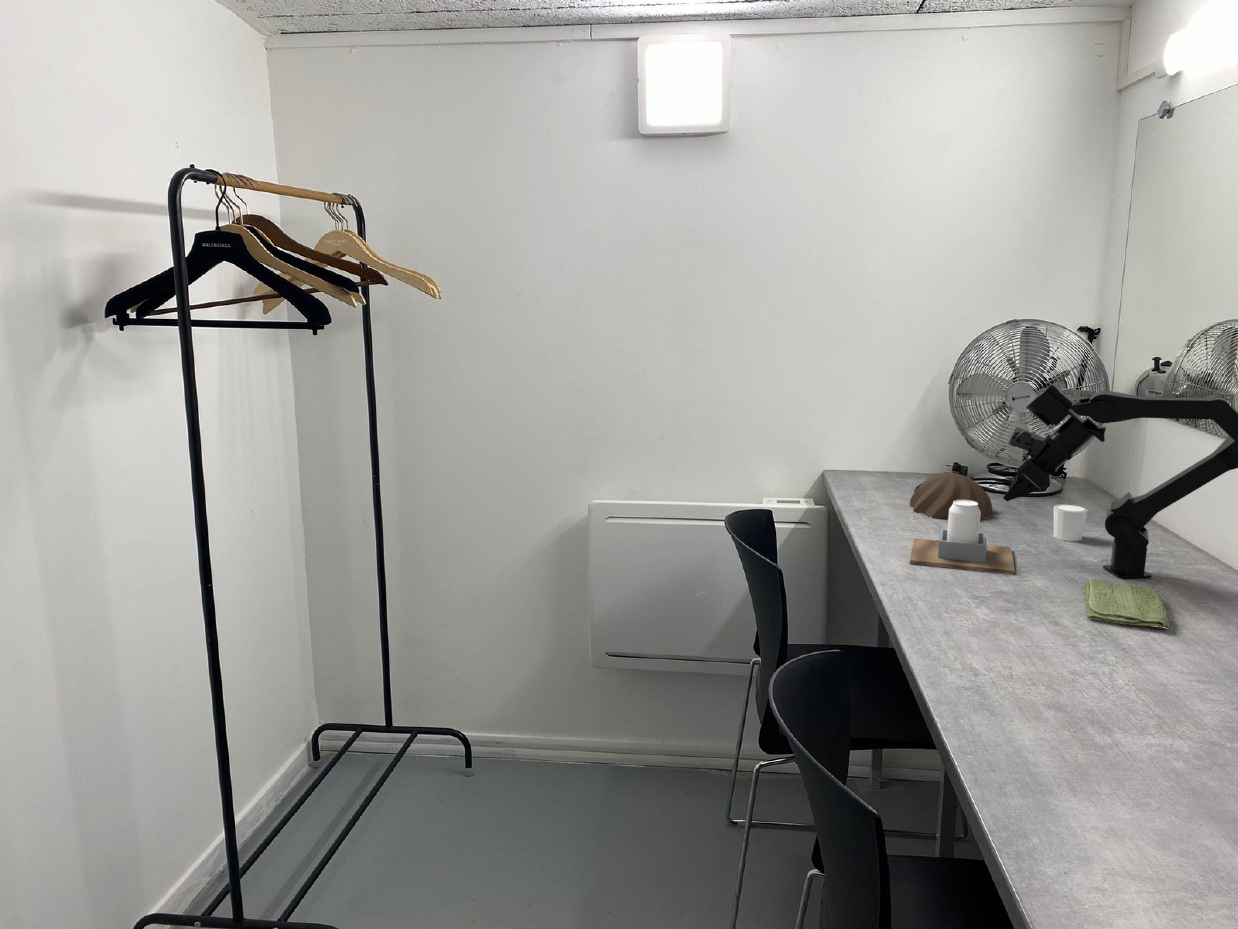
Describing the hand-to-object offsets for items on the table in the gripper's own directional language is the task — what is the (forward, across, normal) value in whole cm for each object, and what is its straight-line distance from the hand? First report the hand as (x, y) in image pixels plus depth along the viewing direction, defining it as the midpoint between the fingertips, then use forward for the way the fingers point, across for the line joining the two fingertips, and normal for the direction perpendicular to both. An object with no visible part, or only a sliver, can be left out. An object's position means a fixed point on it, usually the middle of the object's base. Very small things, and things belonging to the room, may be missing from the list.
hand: (1007, 494), depth 186 cm
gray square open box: (+15, +5, +3) cm, 16 cm away
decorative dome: (+21, -33, -4) cm, 39 cm away
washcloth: (-3, +22, +27) cm, 35 cm away
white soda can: (+16, +5, +3) cm, 16 cm away
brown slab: (+15, +5, +3) cm, 16 cm away
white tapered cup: (+4, -21, +18) cm, 28 cm away
